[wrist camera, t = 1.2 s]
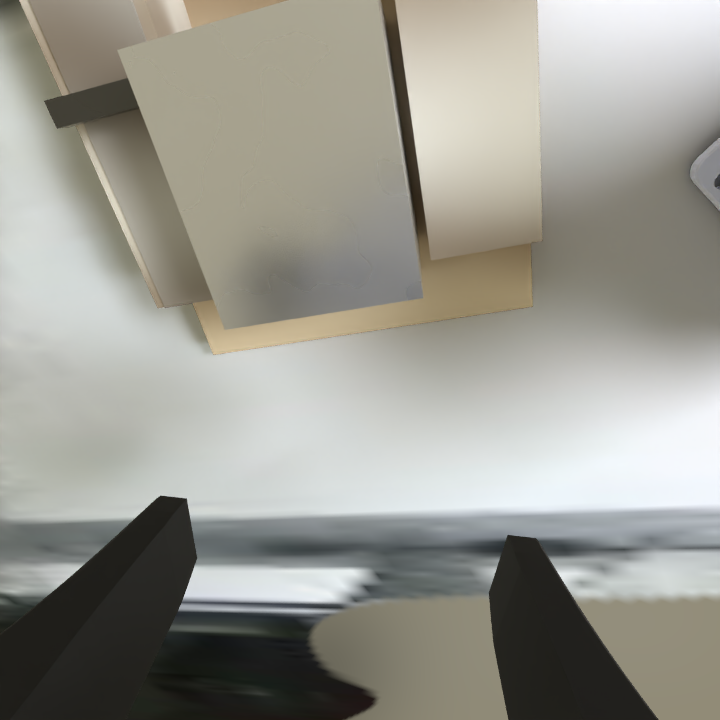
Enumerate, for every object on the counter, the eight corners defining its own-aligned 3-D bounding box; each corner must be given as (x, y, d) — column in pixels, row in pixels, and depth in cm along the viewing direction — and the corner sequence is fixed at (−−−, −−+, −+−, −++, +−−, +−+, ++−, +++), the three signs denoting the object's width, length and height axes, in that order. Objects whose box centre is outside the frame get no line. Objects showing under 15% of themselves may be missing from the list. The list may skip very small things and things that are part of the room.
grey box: (418, 240, 15) (423, 298, 11) (190, 282, 17) (112, 347, 12) (385, 19, 12) (373, -25, 8) (113, 93, 14) (-22, 90, 9)
